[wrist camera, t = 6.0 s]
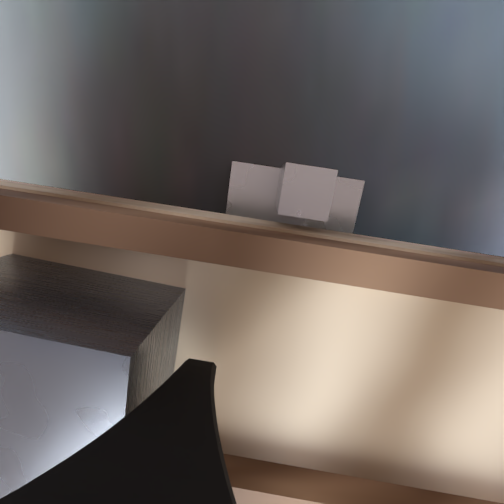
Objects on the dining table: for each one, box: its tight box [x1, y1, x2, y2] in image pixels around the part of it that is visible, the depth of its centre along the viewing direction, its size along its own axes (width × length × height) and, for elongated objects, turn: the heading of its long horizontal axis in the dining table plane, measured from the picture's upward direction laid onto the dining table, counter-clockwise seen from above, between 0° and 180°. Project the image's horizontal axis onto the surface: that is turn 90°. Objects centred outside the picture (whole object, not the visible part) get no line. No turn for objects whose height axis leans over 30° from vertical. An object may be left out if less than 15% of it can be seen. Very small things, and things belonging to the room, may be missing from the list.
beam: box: [0, 179, 504, 504], centre depth 11 cm, size 21×10×3 cm, turn 82°
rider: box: [0, 254, 186, 499], centre depth 9 cm, size 6×5×4 cm
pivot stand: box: [226, 161, 365, 234], centre depth 13 cm, size 6×14×5 cm, turn 172°
